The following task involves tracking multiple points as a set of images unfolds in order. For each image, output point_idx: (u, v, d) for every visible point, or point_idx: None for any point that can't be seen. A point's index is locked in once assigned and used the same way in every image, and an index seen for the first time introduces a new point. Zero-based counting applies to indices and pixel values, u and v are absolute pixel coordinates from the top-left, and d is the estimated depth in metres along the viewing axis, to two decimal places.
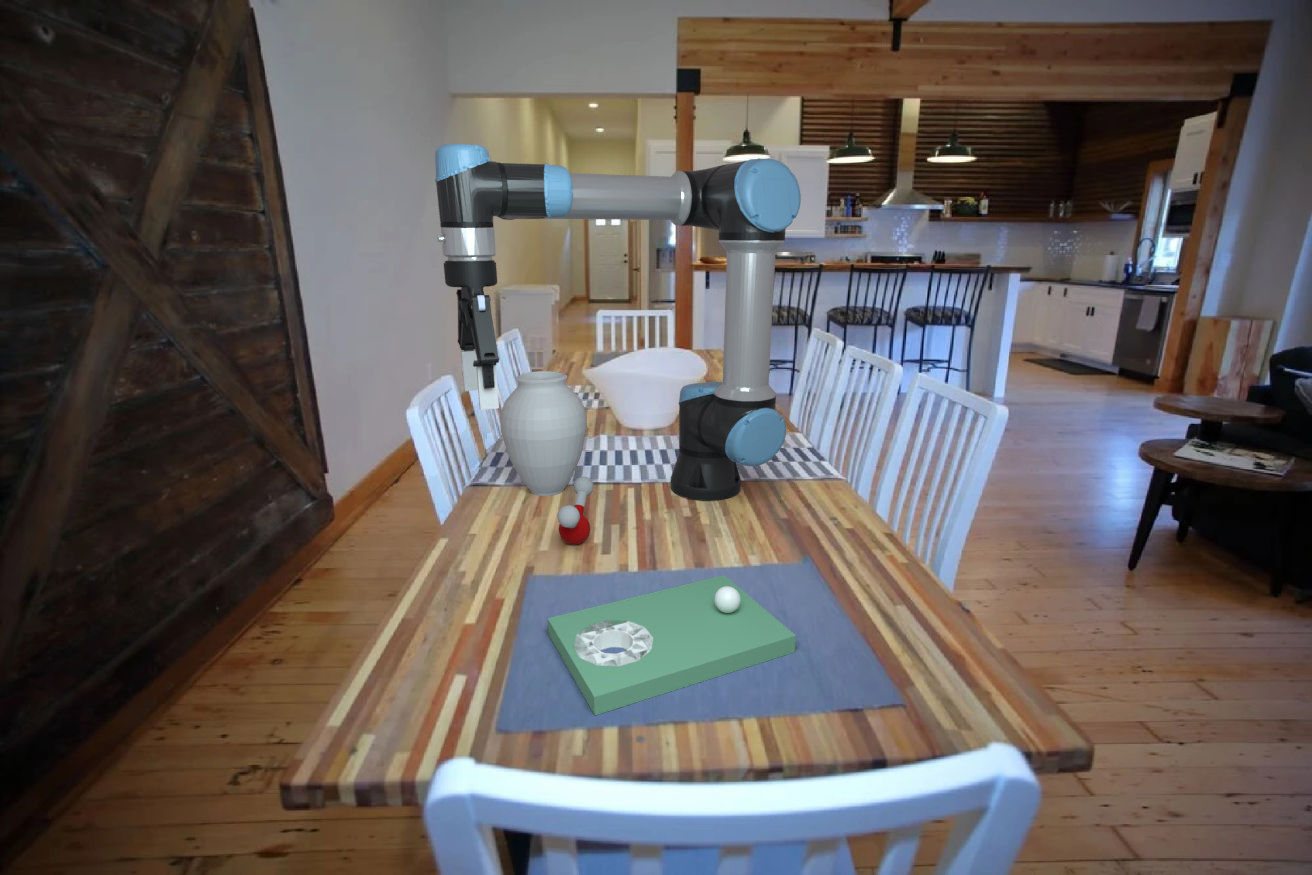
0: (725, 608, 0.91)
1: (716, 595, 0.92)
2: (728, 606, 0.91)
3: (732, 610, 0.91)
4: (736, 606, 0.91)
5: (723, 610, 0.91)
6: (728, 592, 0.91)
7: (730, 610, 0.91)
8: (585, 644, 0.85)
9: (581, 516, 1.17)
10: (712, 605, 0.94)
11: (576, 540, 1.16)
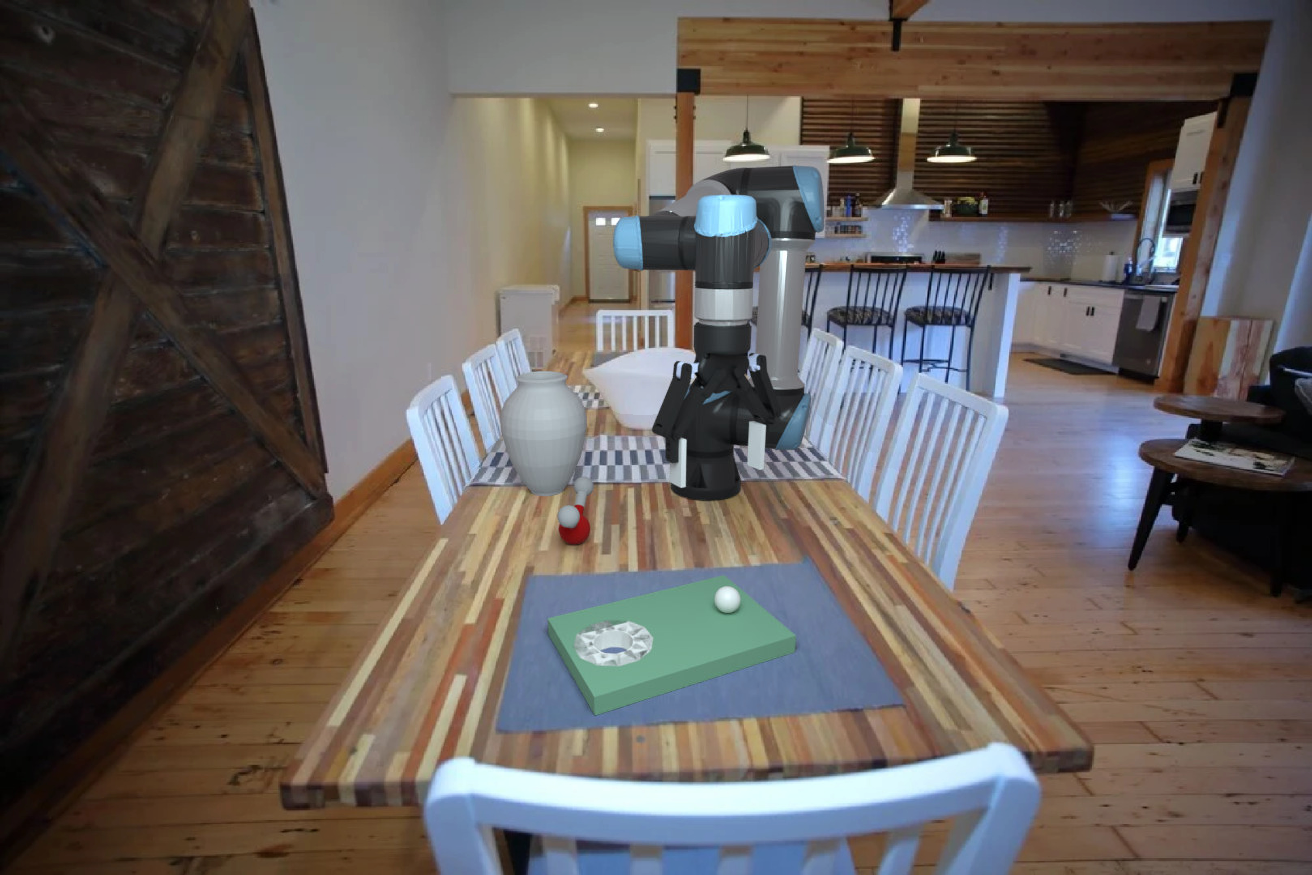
0: (725, 608, 0.91)
1: (716, 595, 0.92)
2: (728, 606, 0.91)
3: (732, 610, 0.91)
4: (736, 606, 0.91)
5: (723, 610, 0.91)
6: (728, 592, 0.91)
7: (730, 610, 0.91)
8: (585, 644, 0.85)
9: (581, 516, 1.17)
10: (712, 605, 0.94)
11: (576, 540, 1.16)
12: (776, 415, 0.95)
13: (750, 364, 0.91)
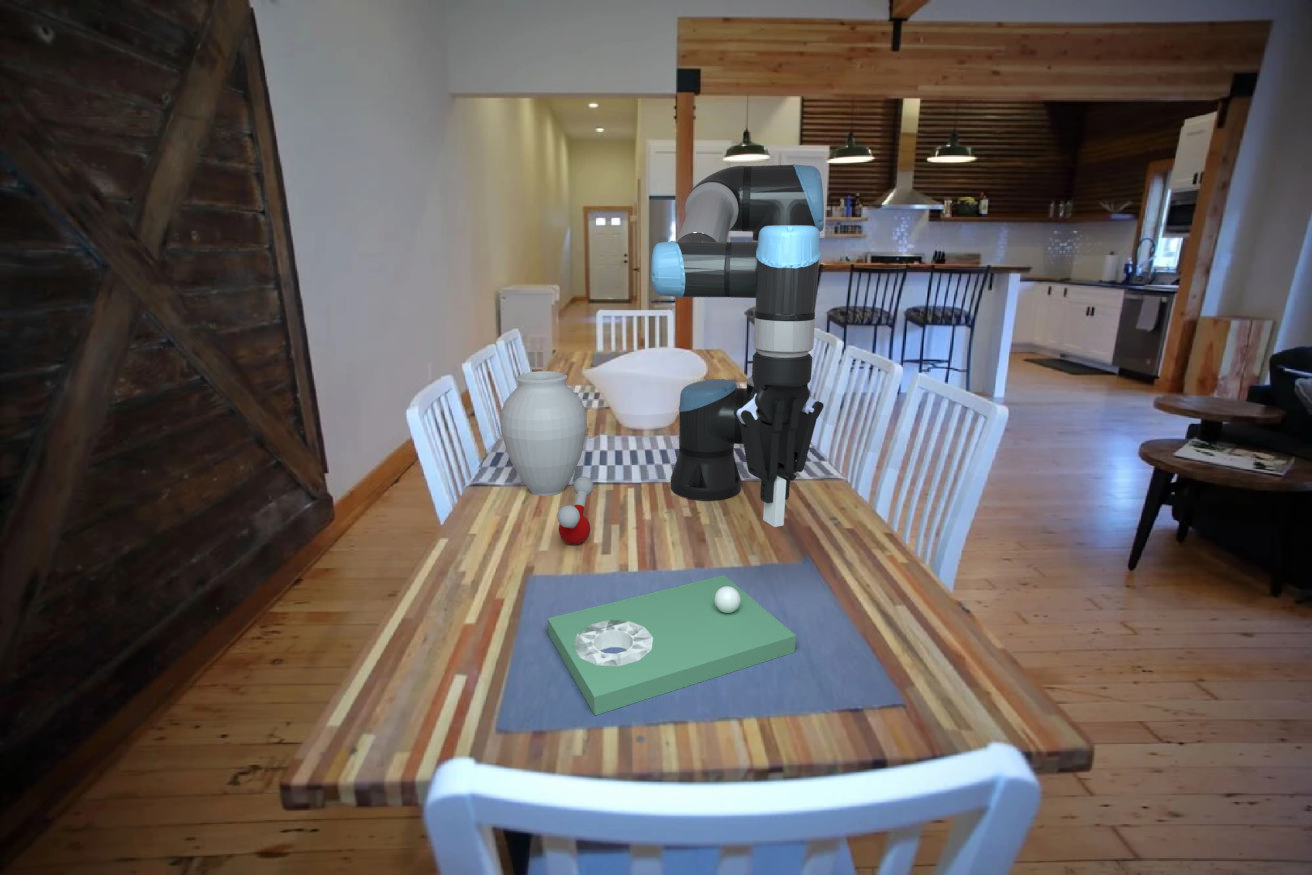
0: (725, 608, 0.91)
1: (716, 595, 0.92)
2: (728, 606, 0.91)
3: (732, 610, 0.91)
4: (736, 606, 0.91)
5: (723, 610, 0.91)
6: (728, 592, 0.91)
7: (730, 610, 0.91)
8: (585, 644, 0.85)
9: (581, 516, 1.17)
10: (712, 605, 0.94)
11: (576, 540, 1.16)
12: (798, 468, 0.90)
13: (807, 402, 0.89)
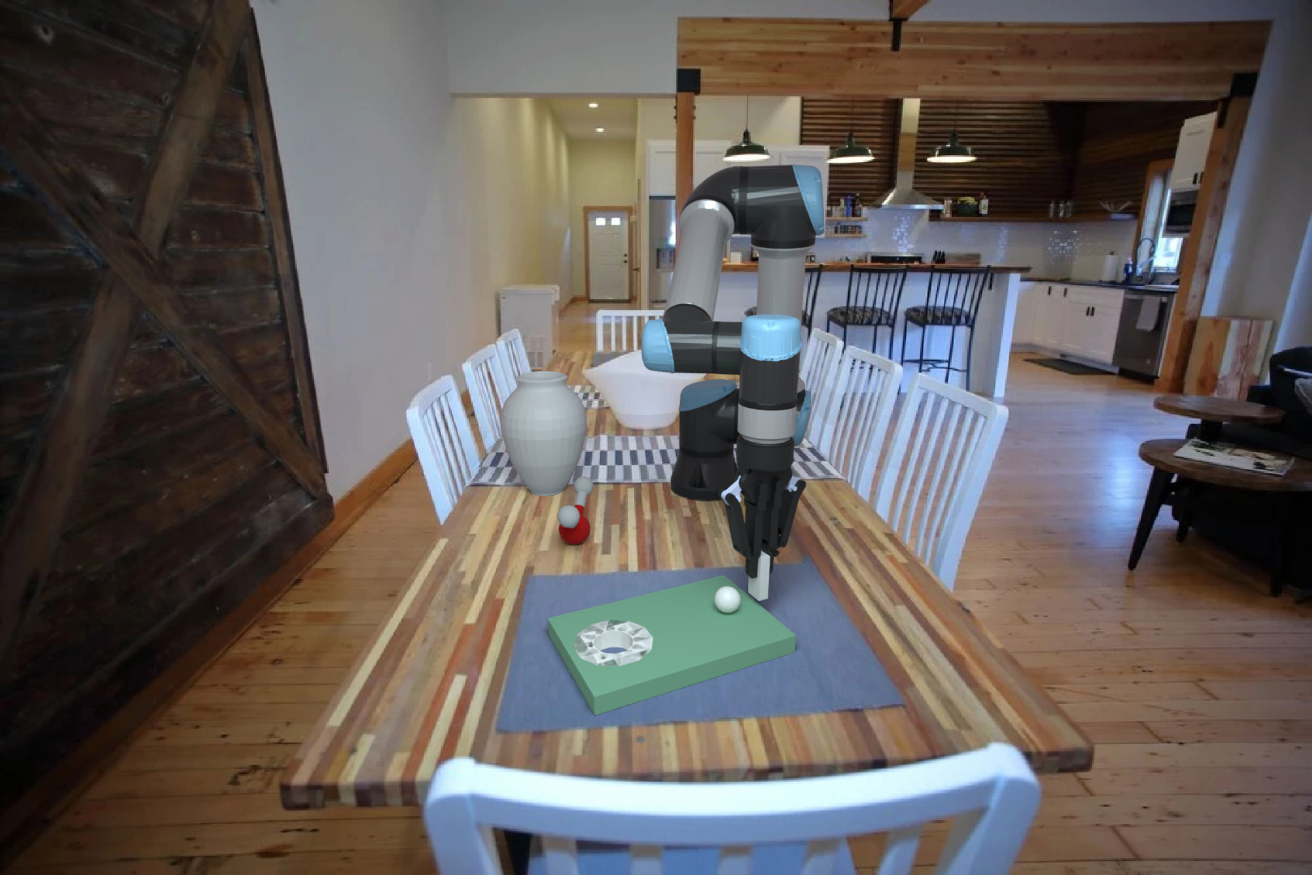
0: (725, 608, 0.91)
1: (716, 595, 0.92)
2: (728, 606, 0.91)
3: (732, 610, 0.91)
4: (736, 606, 0.91)
5: (723, 610, 0.91)
6: (728, 592, 0.91)
7: (730, 610, 0.91)
8: (585, 644, 0.85)
9: (581, 516, 1.17)
10: (712, 605, 0.94)
11: (576, 540, 1.16)
12: (781, 544, 0.92)
13: (790, 481, 0.91)
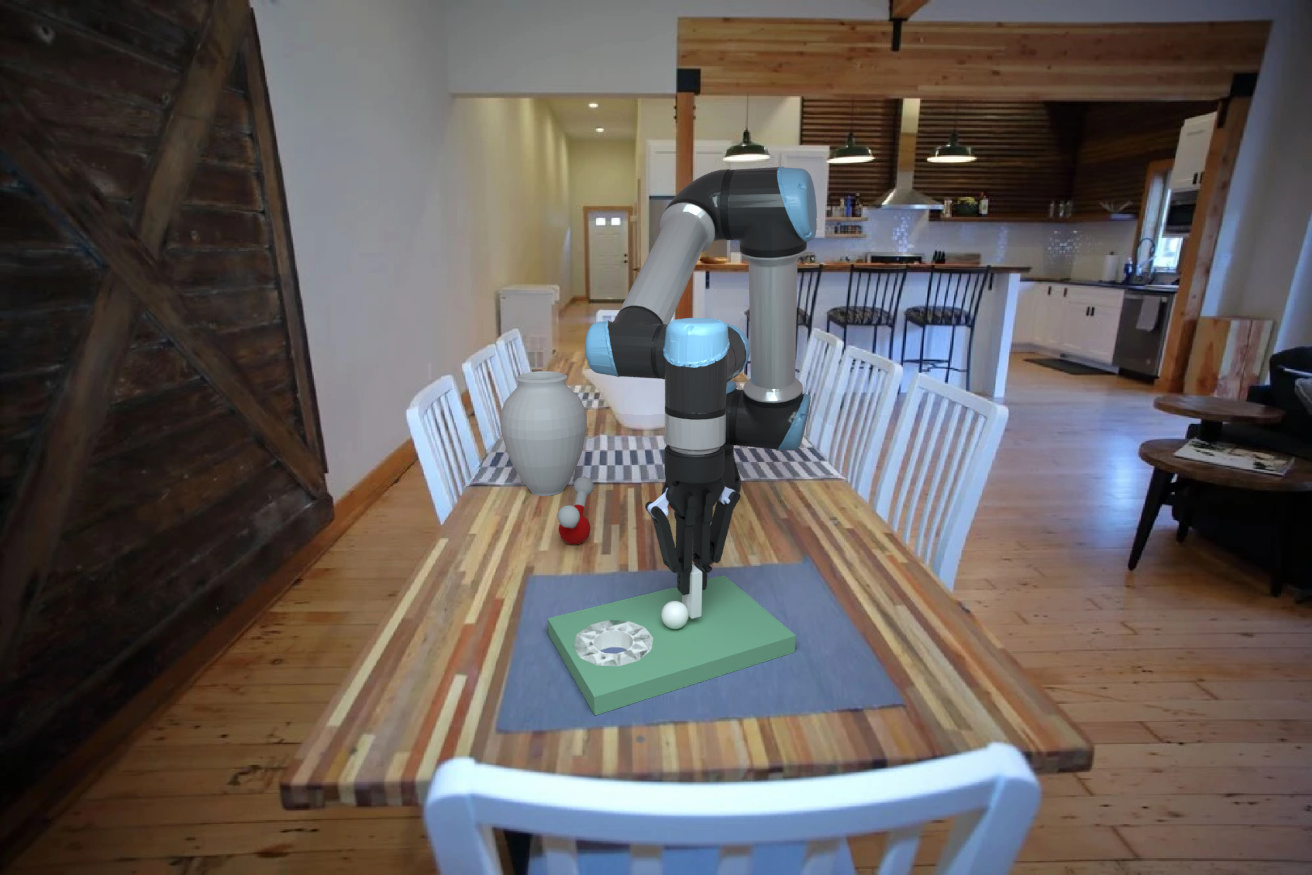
0: (677, 611, 0.87)
1: (679, 602, 0.89)
2: (681, 614, 0.87)
3: (675, 620, 0.87)
4: (679, 623, 0.87)
5: (673, 610, 0.87)
6: None
7: (676, 617, 0.87)
8: (585, 644, 0.85)
9: (581, 516, 1.17)
10: (712, 605, 0.94)
11: (576, 540, 1.16)
12: (714, 559, 0.88)
13: (723, 493, 0.87)
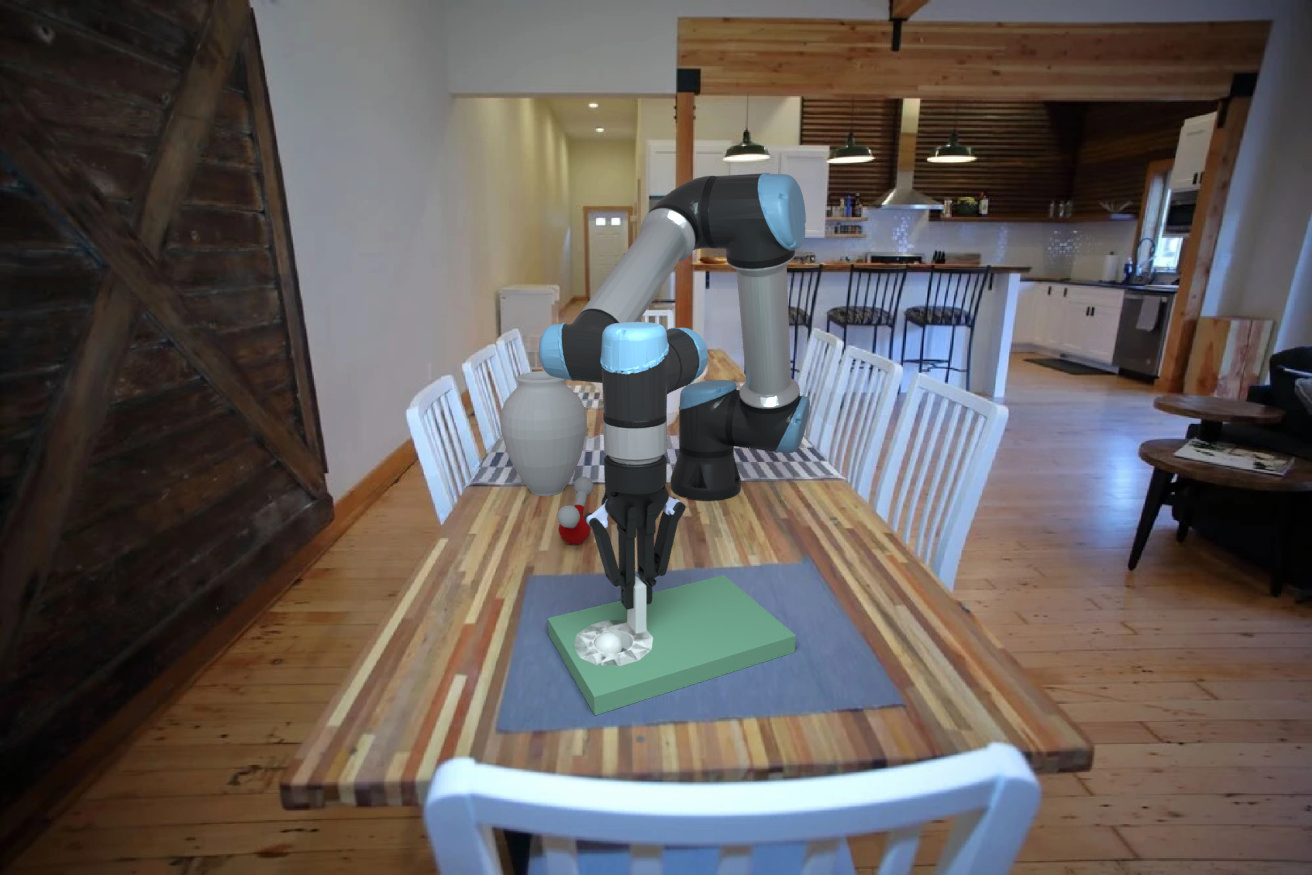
0: (611, 637, 0.85)
1: None
2: (611, 641, 0.85)
3: (603, 641, 0.85)
4: (603, 647, 0.84)
5: (608, 634, 0.86)
6: (619, 652, 0.85)
7: (605, 639, 0.85)
8: (585, 644, 0.85)
9: (581, 516, 1.17)
10: (712, 605, 0.94)
11: (576, 540, 1.16)
12: (659, 572, 0.85)
13: (667, 504, 0.83)
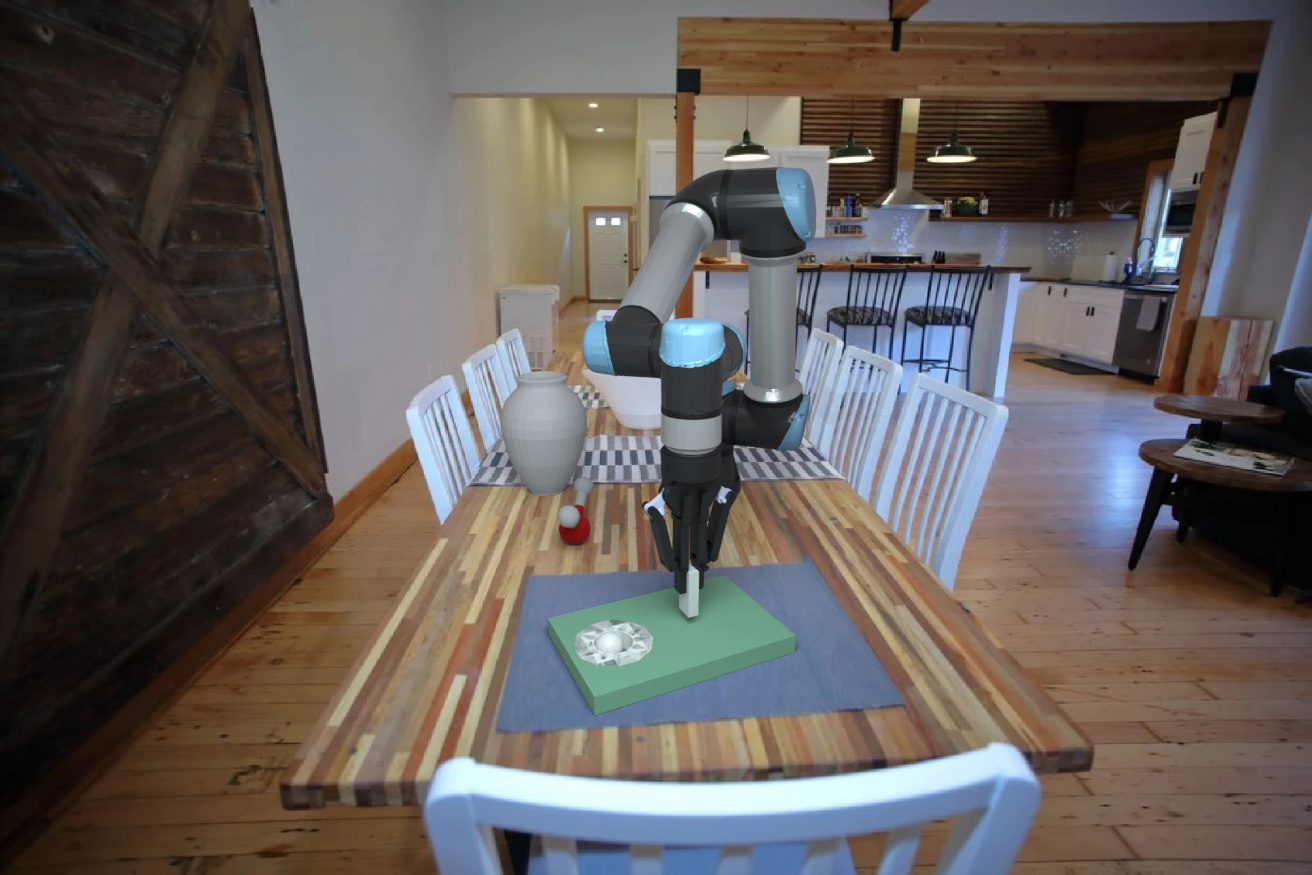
0: (613, 636, 0.85)
1: None
2: (613, 640, 0.85)
3: (605, 640, 0.85)
4: (605, 646, 0.84)
5: (611, 633, 0.86)
6: (620, 652, 0.85)
7: (607, 638, 0.85)
8: (585, 644, 0.85)
9: (581, 516, 1.17)
10: (712, 605, 0.94)
11: (576, 540, 1.16)
12: (711, 558, 0.88)
13: (719, 493, 0.87)
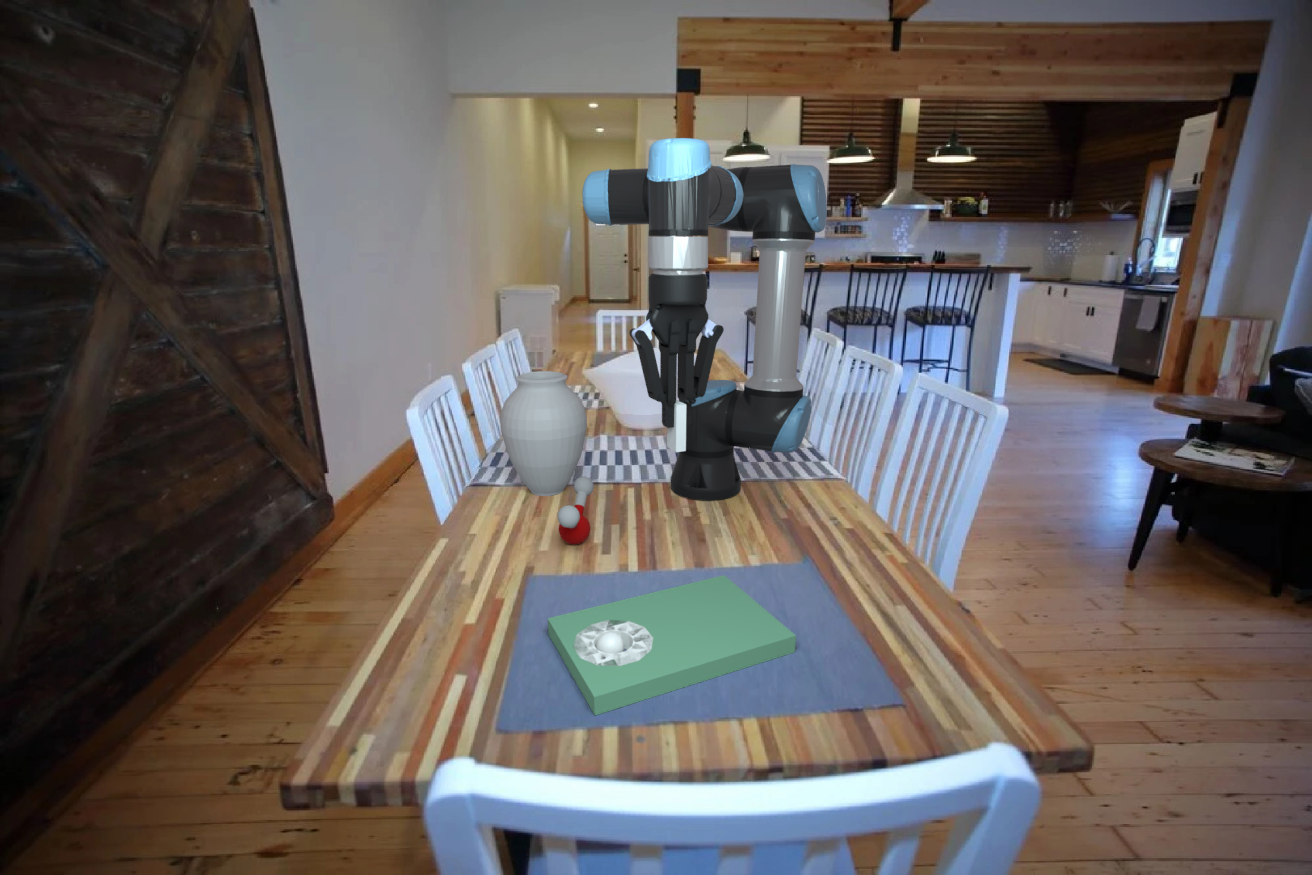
0: (615, 635, 0.86)
1: None
2: (615, 639, 0.85)
3: (607, 638, 0.85)
4: (607, 645, 0.85)
5: (613, 633, 0.86)
6: None
7: (609, 637, 0.85)
8: (585, 644, 0.85)
9: (581, 516, 1.17)
10: (712, 605, 0.94)
11: (576, 540, 1.16)
12: (698, 392, 0.90)
13: (706, 326, 0.88)
